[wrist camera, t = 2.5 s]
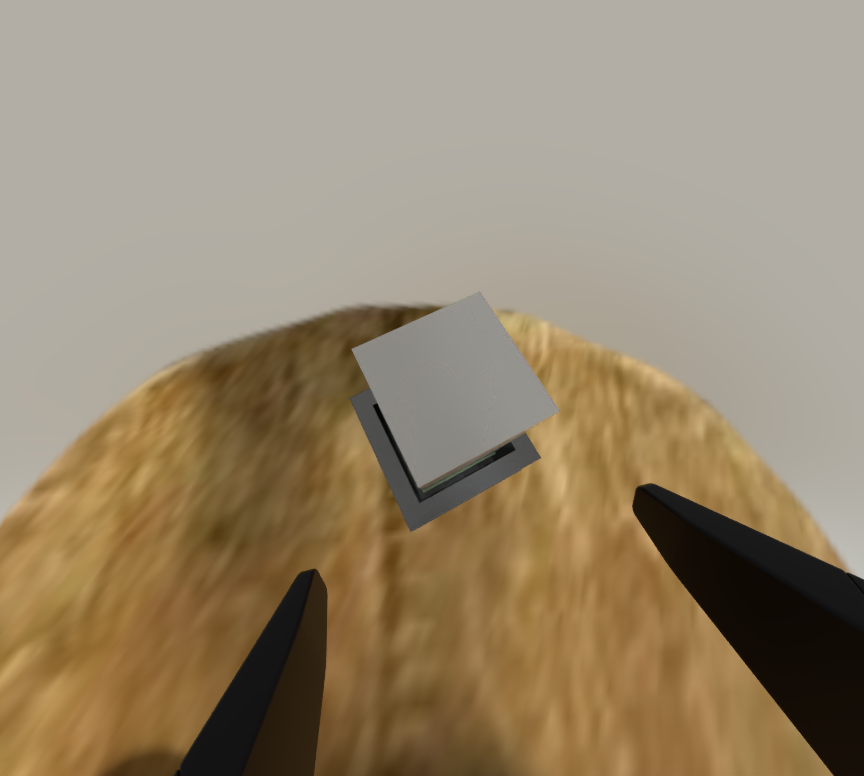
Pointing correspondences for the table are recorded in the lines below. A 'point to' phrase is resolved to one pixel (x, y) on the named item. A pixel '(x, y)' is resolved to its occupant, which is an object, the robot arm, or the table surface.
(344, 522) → the table surface
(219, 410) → the table surface
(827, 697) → the robot arm
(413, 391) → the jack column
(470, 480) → the dark grey box
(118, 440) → the table surface
